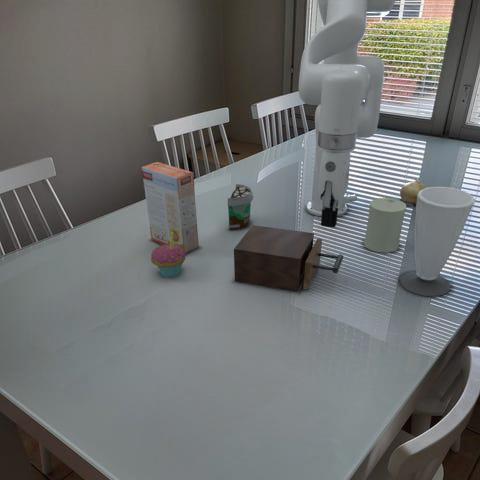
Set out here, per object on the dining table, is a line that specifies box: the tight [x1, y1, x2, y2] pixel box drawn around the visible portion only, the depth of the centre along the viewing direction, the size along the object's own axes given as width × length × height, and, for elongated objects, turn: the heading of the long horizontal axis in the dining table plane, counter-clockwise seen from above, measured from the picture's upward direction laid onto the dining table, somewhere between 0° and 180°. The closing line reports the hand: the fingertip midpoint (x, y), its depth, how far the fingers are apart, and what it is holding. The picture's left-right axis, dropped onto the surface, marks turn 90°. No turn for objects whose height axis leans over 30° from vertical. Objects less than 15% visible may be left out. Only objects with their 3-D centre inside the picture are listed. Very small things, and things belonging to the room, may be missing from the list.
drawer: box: [300, 238, 344, 290], centre depth 114 cm, size 20×13×7 cm, turn 70°
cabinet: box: [233, 224, 315, 293], centre depth 116 cm, size 16×14×9 cm
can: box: [363, 197, 407, 253], centre depth 126 cm, size 9×9×12 cm
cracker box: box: [141, 161, 200, 254], centre depth 126 cm, size 14×6×21 cm, turn 47°
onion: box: [399, 177, 426, 205], centre depth 151 cm, size 8×8×7 cm
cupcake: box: [150, 229, 187, 278], centre depth 116 cm, size 9×8×12 cm
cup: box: [399, 186, 476, 298], centre depth 107 cm, size 12×12×22 cm
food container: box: [227, 183, 254, 231], centre depth 139 cm, size 12×6×10 cm, turn 168°
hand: (328, 225), depth 106 cm, fingers closed
